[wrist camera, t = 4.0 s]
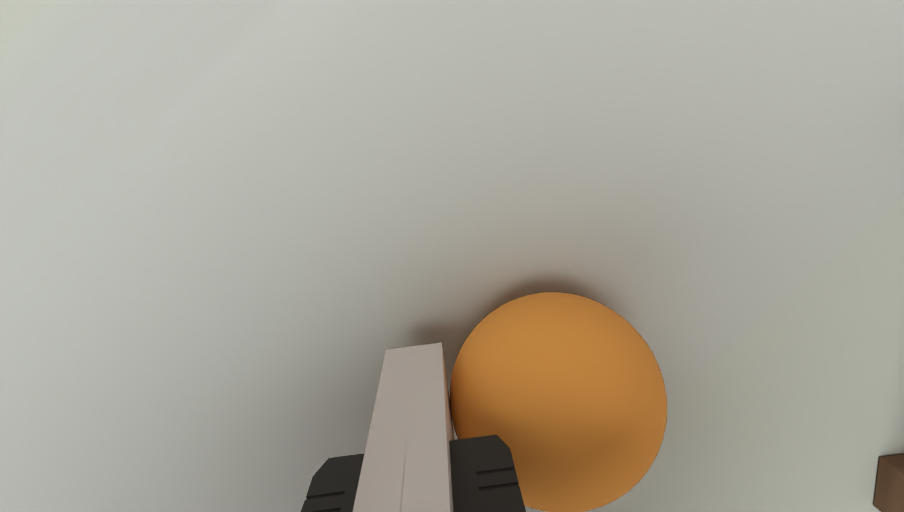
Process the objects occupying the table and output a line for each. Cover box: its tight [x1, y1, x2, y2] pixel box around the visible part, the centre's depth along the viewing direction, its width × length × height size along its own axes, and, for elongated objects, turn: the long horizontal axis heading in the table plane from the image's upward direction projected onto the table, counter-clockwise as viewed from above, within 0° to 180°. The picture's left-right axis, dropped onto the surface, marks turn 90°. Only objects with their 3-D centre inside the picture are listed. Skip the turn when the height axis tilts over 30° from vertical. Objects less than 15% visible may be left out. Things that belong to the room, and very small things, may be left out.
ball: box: [450, 292, 667, 512], centre depth 13 cm, size 6×6×6 cm
